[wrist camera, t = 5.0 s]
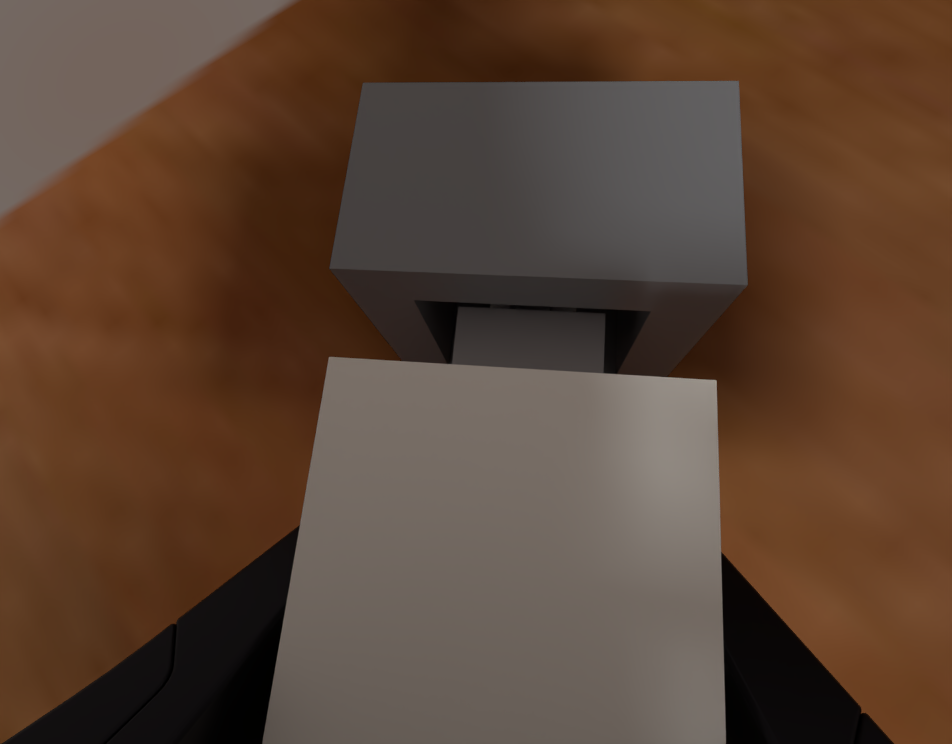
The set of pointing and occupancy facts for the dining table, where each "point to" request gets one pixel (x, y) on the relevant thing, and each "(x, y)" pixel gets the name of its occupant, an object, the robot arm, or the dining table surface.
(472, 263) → the block
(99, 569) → the dining table surface
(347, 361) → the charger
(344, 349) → the dining table surface
